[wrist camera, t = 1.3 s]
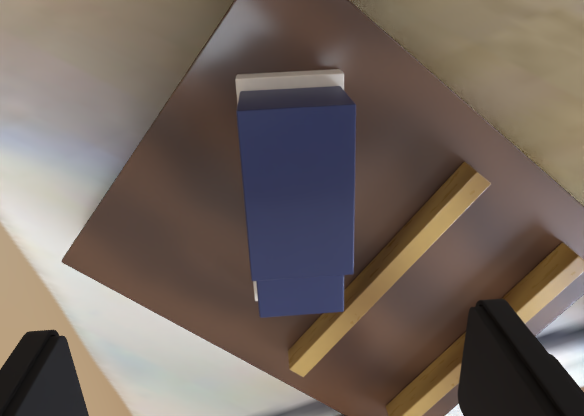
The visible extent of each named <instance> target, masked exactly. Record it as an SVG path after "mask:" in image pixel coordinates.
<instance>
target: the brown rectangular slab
mask: <svg viewBox="0 0 584 416" xmlns="http://www.w3.org/2000/svg"><path fill="white" fill-rule="evenodd" d="M331 69H340V70H341V71H342V72H343V73H344V91H345V92H346V93H347V95H348V96H349V97H350V98H351V99H352V101H353V102H354V103H355V104H356V147H355V222H354V274H351V275H344V312H334V313H320V314H306V315H293V316H279V317H265V318H260V317H259V307H258V301H255V297H254V286H253V281H252V280H251V271H250V260H249V249H248V238H247V226H246V215H245V204H244V193H243V182H242V171H241V160H240V149H239V138H238V127H237V116H236V110H237V93H236V82H235V79H236V76H237V74H254V73H273V72H292V71H312V70H331ZM62 263H64V264H66V265H68V266H70V267H72V268H74V269H75V270H77V271H79V272H81V273H83V274H85V275H87V276H88V277H90V278H92V279H94V280H96V281H98V282H99V283H101V284H103V285H105V286H107V287H109V288H111V289H112V290H114V291H116V292H118V293H120V294H122V295H124V296H125V297H127V298H129V299H131V300H133V301H135V302H136V303H138V304H140V305H142V306H144V307H146V308H148V309H149V310H151V311H153V312H155V313H157V314H159V315H161V316H162V317H164V318H166V319H168V320H170V321H172V322H173V323H175V324H177V325H179V326H181V327H183V328H185V329H186V330H188V331H190V332H192V333H194V334H196V335H198V336H199V337H201V338H203V339H205V340H207V341H209V342H211V343H212V344H214V345H216V346H218V347H220V348H222V349H223V350H225V351H227V352H229V353H231V354H233V355H235V356H236V357H238V358H240V359H242V360H244V361H246V362H248V363H249V364H251V365H253V366H255V367H257V368H259V369H260V370H262V371H264V372H266V373H268V374H270V375H272V376H273V377H275V378H277V379H279V380H281V381H283V382H285V383H286V384H288V385H290V386H292V387H294V388H296V389H297V390H299V391H301V392H303V393H305V394H307V395H309V396H310V397H312V398H314V399H316V400H318V401H320V402H322V403H323V404H325V405H327V406H329V407H331V408H333V409H335V410H336V411H338V412H340V413H342V414H344V415H346V416H445V415H446V414H447V413H448V412H449V411H450V410H452V409H453V408H454V407H455V406H456V405H457V404H459V402H458V386H459V378H460V371H461V364H462V356H463V349H464V342H465V334H466V327H467V320H468V313H469V309H470V308H471V307H475V306H476V303H477V301H479V300H489V299H505V300H506V301H507V302H508V303H509V305H510V306H511V307H512V308H513V310H514V311H515V312H516V313H517V315H518V316H519V317H520V318H521V320H522V321H523V322H524V323H525V325H526V326H527V327H528V328H529V330H530V331H531V332H532V333H533V335H534V336H537V335H538V334H539V333H540V332H541V331H542V330H543V329H545V328H546V327H547V326H548V325H549V324H550V323H551V322H553V321H554V320H555V319H556V318H557V317H558V316H559V315H561V314H562V313H563V312H564V311H565V310H566V309H568V308H569V307H570V306H571V305H572V304H573V303H574V302H576V301H577V300H578V299H579V298H580V297H581V296H582V295H584V206H583V205H582V204H580V203H579V202H578V201H577V200H576V199H575V198H574V197H572V196H571V195H570V194H569V193H568V192H567V191H566V190H564V189H563V188H562V187H561V186H560V185H559V184H558V183H556V182H555V181H554V180H553V179H552V178H551V177H550V176H548V175H547V174H546V173H545V172H544V171H543V170H542V169H541V168H539V167H538V166H537V165H536V164H535V163H534V162H533V161H531V160H530V159H529V158H528V157H527V156H526V155H525V154H523V153H522V152H521V151H520V150H519V149H518V148H517V147H515V146H514V145H513V144H512V143H511V142H510V141H509V140H507V139H506V138H505V137H504V136H503V135H502V134H501V133H500V132H498V131H497V130H496V129H495V128H494V127H493V126H492V125H490V124H489V123H488V122H487V121H486V120H485V119H484V118H482V117H481V116H480V115H479V114H478V113H477V112H476V111H474V110H473V109H472V108H471V107H470V106H469V105H468V104H466V103H465V102H464V101H463V100H462V99H461V98H460V97H459V96H457V95H456V94H455V93H454V92H453V91H452V90H451V89H449V88H448V87H447V86H446V85H445V84H444V83H443V82H441V81H440V80H439V79H438V78H437V77H436V76H435V75H433V74H432V73H431V72H430V71H429V70H428V69H427V68H425V67H424V66H423V65H422V64H421V63H420V62H419V61H418V60H416V59H415V58H414V57H413V56H412V55H411V54H410V53H408V52H407V51H406V50H405V49H404V48H403V47H402V46H400V45H399V44H398V43H397V42H396V41H395V40H394V39H392V38H391V37H390V36H389V35H388V34H387V33H386V32H384V31H383V30H382V29H381V28H380V27H379V26H378V25H376V24H375V23H374V22H373V21H372V20H371V19H370V18H369V17H367V16H366V15H365V14H364V13H363V12H362V11H361V10H359V9H358V8H357V7H356V6H355V5H354V4H353V3H351V2H350V1H349V0H235V1H234V2H233V4H232V5H231V7H230V8H229V10H228V11H227V13H226V14H225V16H224V17H223V19H222V20H221V22H220V23H219V25H218V26H217V28H216V29H215V31H214V32H213V34H212V35H211V37H210V38H209V40H208V41H207V43H206V44H205V46H204V47H203V49H202V50H201V52H200V53H199V55H198V56H197V58H196V59H195V61H194V62H193V64H192V65H191V67H190V68H189V70H188V71H187V73H186V74H185V76H184V77H183V79H182V80H181V82H180V83H179V85H178V86H177V88H176V89H175V91H174V92H173V94H172V95H171V97H170V98H169V100H168V101H167V103H166V104H165V106H164V107H163V109H162V110H161V112H160V113H159V115H158V116H157V118H156V119H155V121H154V122H153V124H152V125H151V127H150V128H149V130H148V131H147V133H146V134H145V136H144V137H143V139H142V140H141V142H140V143H139V145H138V146H137V148H136V149H135V151H134V152H133V154H132V155H131V157H130V158H129V160H128V161H127V163H126V164H125V166H124V167H123V169H122V170H121V172H120V173H119V175H118V176H117V178H116V179H115V181H114V182H113V184H112V185H111V187H110V188H109V190H108V191H107V193H106V194H105V196H104V197H103V199H102V200H101V202H100V203H99V205H98V206H97V208H96V209H95V211H94V212H93V214H92V215H91V217H90V218H89V220H88V221H87V223H86V224H85V226H84V227H83V229H82V230H81V232H80V233H79V235H78V236H77V238H76V239H75V241H74V242H73V244H72V245H71V247H70V248H69V250H68V251H67V253H66V254H65V256H64V257H63V259H62Z"/></svg>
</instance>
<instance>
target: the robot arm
mask: <svg viewBox="0 0 584 416" xmlns="http://www.w3.org/2000/svg"><path fill="white" fill-rule="evenodd" d="M458 402H459V406H460V409H461V411H462V413H463V415H464V416H584V392H583V391H582V390H581V388H580V387H579V386H578V385H577V383H576V382H575V381H574V380H573V379H572V377H571V376H570V375H569V374H568V372H567V371H566V370H565V369H564V367H563V366H562V365H561V364H560V362H559V361H558V360H557V359H556V358H555V357H554V356H553V355H551V354H549V353H548V352H547V351H546V350H545V348H544V347H543V346H542V345H541V343H540V342H539V341H538V340H537V338H536V337H535V336H534V335H533V333H532V332H531V331H530V330H529V328H528V327H527V326H526V325H525V323H524V322H523V321H522V320H521V318H520V317H519V316H518V315H517V313H516V312H515V311H514V310H513V308H512V307H511V306H510V305H509V303H508V302H507V301H506V300H505V299H489V300H479V301H477V303H476V306H475V307H471V308H470V309H469V313H468V320H467V327H466V334H465V342H464V349H463V356H462V364H461V371H460V378H459V386H458ZM0 416H89V415H88V411H87V408H86V404H85V401H84V398H83V394H82V391H81V387H80V384H79V380H78V377H77V374H76V370H75V366H74V363H73V360H72V356H71V353H70V349H69V346H68V342H67V339H66V338H65V336H59V334H58V332H57V331H56V330H44V331H31V332H27V333H26V334H25V335H24V336H23V337H22V339H21V340H20V342H19V343H18V345H17V346H16V348H15V349H14V350H13V352H12V353H11V355H10V356H9V358H8V359H7V361H6V362H5V364H4V365H3V367H2V368H1V370H0Z"/></svg>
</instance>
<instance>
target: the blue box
mask: <svg viewBox="0 0 584 416" xmlns="http://www.w3.org/2000/svg"><path fill="white" fill-rule="evenodd" d="M235 82H236V93H237V110H236V116H237V127H238V138H239V149H240V160H241V171H242V182H243V193H244V204H245V215H246V226H247V238H248V249H249V260H250V271H251V280H252V281H253V286H254V297H255V301H258V307H259V317H260V318H265V317H279V316H293V315H306V314H320V313H334V312H344V275H351V274H354V222H355V147H356V104H355V103H354V102H353V101H352V99H351V98H350V97H349V96H348V95H347V93H346V92H345V91H344V73H343V72H342V71H341V70H340V69H331V70H312V71H292V72H273V73H254V74H237V76H236V79H235Z"/></svg>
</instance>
